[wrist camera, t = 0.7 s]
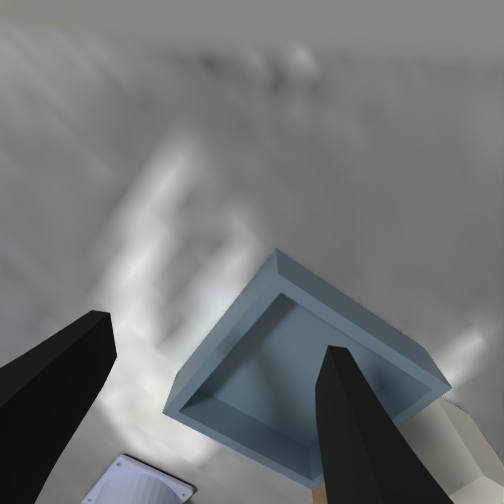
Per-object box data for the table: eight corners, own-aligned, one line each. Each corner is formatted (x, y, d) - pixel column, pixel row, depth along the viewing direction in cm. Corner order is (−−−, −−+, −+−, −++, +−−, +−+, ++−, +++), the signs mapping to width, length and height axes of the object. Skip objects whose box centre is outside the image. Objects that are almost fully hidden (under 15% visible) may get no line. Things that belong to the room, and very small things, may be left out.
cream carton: (429, 441, 25) (474, 531, 20) (393, 420, 24) (429, 506, 19) (468, 414, 24) (529, 502, 18) (432, 391, 23) (483, 475, 17)
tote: (308, 444, 26) (313, 490, 23) (176, 373, 24) (162, 413, 20) (424, 348, 21) (452, 387, 18) (276, 248, 19) (277, 273, 16)
